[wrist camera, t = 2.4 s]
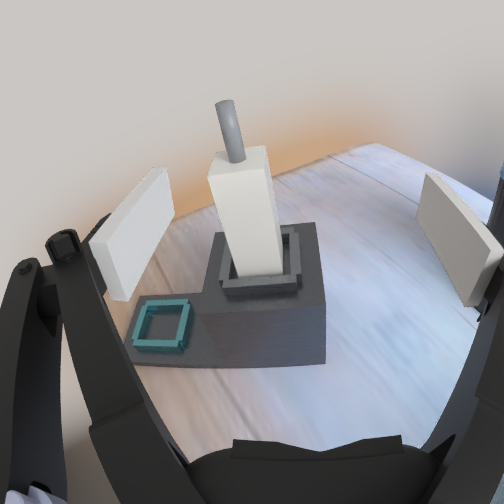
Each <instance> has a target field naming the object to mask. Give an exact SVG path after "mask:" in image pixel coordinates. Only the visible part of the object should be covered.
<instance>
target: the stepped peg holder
mask: <svg viewBox="0 0 504 504" xmlns="http://www.w3.org/2000/svg"><path fill="white" fill-rule="evenodd" d="M280 231H281V237H282V243H283V265H284V275H280V276H268V277H256V278H243V279H239V277H238V274H237V271H236V268H235V265H234V261H233V258H232V255H231V252H230V249H229V246H228V242H227V239H226V236H225V233H224V232H217V233H215V236H214V241H213V245H212V250H211V254H210V258H209V263H208V267H207V272H206V277H205V281H204V286H203V290H202V293H192V294H174V295H153V296H140V297H139V300H138V303H137V306H136V308H135V311H134V314H133V317H132V320H131V323H130V326H129V329H128V332H127V335H126V338H125V341H124V347H125V349H126V351H127V353H128V355H129V358H130V360H131V362H132V364H133V365H141V366H157V367H178V368H267V367H288V366H304V365H317V364H325V360H326V302H325V293H324V285H323V277H322V269H321V261H320V254H319V246H318V239H317V232H316V226H315V222H311V223H301V224H291V225H281V226H280Z"/></svg>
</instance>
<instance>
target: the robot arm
mask: <svg viewBox="0 0 504 504" xmlns="http://www.w3.org/2000/svg"><path fill="white" fill-rule="evenodd" d="M174 215H175V212H174V207H173V201H172V195H171V189H170V183H169V178H168V171H167V167H155V168H153V169H151V170H150V171H149V172H148V173H147V175H146V176H145V177H144V178H143V179H142V180H141V181H140V182H139V183H138V184H137V185H136V186H135V188H134V189H133V190H132V191H131V192H130V193H129V194H128V195H127V197H126V198H125V199H124V200H123V201H122V202H121V203H120V205H119V206H118V207H117V208H116V209H115V210H114V212H113V213H110V214H108V215H106V216H105V217H104V218H102V219H101V220H100V221H99V222H98V223H97V224H96V226H95V228H93V229H92V231H91V233H89V234H88V235H87V237H86V238H85V239H84V240H83V241H82V243H80V240H79V237H78V235H77V232H76V231H75V230H73V229H65V230H62V231H59V232H57V233H56V234H54V235H52V236H51V237H50V238H49V239H48V240H47V242H46V244H45V247H46V249H47V252H48V254H49V256H50V259H51V261H52V263H53V265H49V266H45V267H41V265H40V263H39V261H38V260H37V258H28V259H26V260H22V261H21V262H20V263H18V265H17V266H16V267H15V268H14V270H13V272H12V274H11V277H10V280H9V283H8V286H7V289H6V292H5V295H4V298H3V301H2V305H1V308H0V504H68V503H67V478H66V468H65V459H64V450H63V439H62V426H61V403H60V365H61V341H62V326H63V324H64V328H65V332H66V337H67V341H68V345H69V349H70V353H71V357H72V360H73V364H74V367H75V371H76V374H77V378H78V381H79V384H80V387H81V391H82V393H83V397H84V400H85V403H86V405H87V408H88V411H89V414H90V417H91V419H92V425H91V426H90V427H89V433H90V437H91V440H92V442H93V445H94V447H95V450H96V452H97V455H98V457H99V459H100V462H101V464H102V466H103V468H104V471H105V473H106V475H107V477H108V479H109V481H110V483H111V485H112V488H113V490H114V492H115V494H116V495H117V497H118V499H119V501H120V503H121V504H490V502H491V500H492V498H493V496H494V494H495V491H496V489H497V487H498V485H499V482H500V480H501V478H502V475H503V473H504V163H503V166H502V167H501V170H500V180H499V184H498V189H497V192H496V196H495V200H494V203H493V207H492V210H491V213H490V217H489V220H488V223H487V225H485V224H484V223H483V222H482V221H481V220H480V219H479V218H478V217H477V216H476V214H475V213H474V212H473V211H472V210H471V209H470V208H469V206H468V205H467V204H466V203H465V202H464V201H463V200H462V199H461V198H460V197H459V195H458V194H457V193H456V192H455V191H454V190H453V189H452V188H451V187H450V186H449V185H448V184H447V183H446V182H445V181H444V180H443V179H442V178H441V177H440V176H439V175H438V174H431V173H426V174H425V179H424V184H423V189H422V194H421V198H420V203H419V207H418V211H417V215H416V221H417V222H418V224H419V225H420V227H421V229H422V230H423V232H424V233H425V235H426V237H427V238H428V240H429V242H430V243H431V245H432V247H433V249H434V250H435V252H436V254H437V256H438V257H439V259H440V261H441V263H442V265H443V266H444V268H445V270H446V272H447V274H448V276H449V277H450V279H451V281H452V283H453V285H454V287H455V289H456V291H457V293H458V295H459V297H460V299H461V301H462V303H463V305H464V307H470V306H474V307H475V308H476V309H477V310H479V311H480V312H481V314H480V316H479V318H478V319H477V322H479V321H480V323H479V326H478V329H477V332H476V335H475V338H474V341H473V344H472V346H471V349H470V352H469V354H468V357H467V360H466V362H465V365H464V367H463V370H462V372H461V374H460V377H459V379H458V381H457V384H456V386H455V388H454V390H453V392H452V395H451V397H450V399H449V401H448V403H447V405H446V407H445V409H444V411H443V413H442V415H441V417H440V419H439V421H438V423H437V425H436V427H435V428H434V430H433V432H432V434H431V436H430V437H429V439H428V440H427V441H426V443H425V444H424V445H423V446H422V447H421V449H418V448H416V447H413V446H409V445H404V444H402V438H401V435H396V436H388V437H380V438H371V439H362V440H359V441H356V442H353V443H350V444H347V445H344V446H341V447H337V448H334V449H330V450H327V451H322V452H318V451H313V450H308V449H304V448H299V447H295V446H291V445H287V444H283V443H279V442H270V441H251V440H237V439H233V447H232V448H229V449H223V450H219V451H215V452H212V453H210V454H207V455H204V456H202V457H200V458H198V459H196V460H195V461H193V462H192V463H190V462H189V461H188V459H187V458H186V456H185V455H184V454H183V452H182V451H181V449H180V448H179V446H178V445H177V443H176V442H175V440H174V439H173V437H172V436H171V434H170V432H169V431H168V429H167V427H166V426H165V424H164V422H163V420H162V419H161V417H160V415H159V413H158V412H157V410H156V408H155V406H154V405H153V403H152V401H151V399H150V397H149V395H148V393H147V392H146V390H145V388H144V386H143V384H142V382H141V380H140V378H139V376H138V374H137V372H136V370H135V368H134V366H133V364H132V362H131V360H130V358H129V355H128V353H127V351H126V349H125V347H124V345H123V342H122V340H121V338H120V336H119V333H118V331H117V329H116V326H115V324H114V322H113V319H112V317H111V314H110V312H109V310H108V307H107V304H106V302H105V300H104V298H103V295H104V293H105V292H106V290H108V292H109V295H110V297H111V299H112V300H116V301H126V302H128V301H129V299H130V297H131V295H132V293H133V291H134V289H135V287H136V285H137V283H138V281H139V279H140V277H141V276H142V274H143V272H144V270H145V268H146V266H147V264H148V262H149V260H150V258H151V256H152V255H153V253H154V251H155V249H156V247H157V245H158V243H159V242H160V240H161V238H162V236H163V234H164V233H165V231H166V229H167V227H168V225H169V224H170V222H171V220H172V218H173V216H174Z"/></svg>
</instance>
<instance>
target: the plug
mask: <svg viewBox="0 0 504 504" xmlns="http://www.w3.org/2000/svg"><path fill="white" fill-rule="evenodd" d="M215 107H216V111H217V115H218V119H219V123H220V127H221V131H222V135H223V138H224V142H225V146H226V150H227V151H222V152H216V154H215V157H214V159H213V162H212V165H211V168H210V170H209V173H208V175H207V178H208V181H209V184H210V188H211V191H212V194H213V198H214V201H215V204H216V207H217V211H218V214H219V217H220V220H221V223H222V227H223V230H224V233H225V236H226V239H227V242H228V246H229V249H230V252H231V255H232V258H233V261H234V265H235V268H236V271H237V274H238V277H239V279H243V278H256V277H268V276H280V275H284V265H283V243H282V237H281V231H280V225H279V219H278V213H277V207H276V201H275V196H274V190H273V184H272V179H271V174H270V168H269V162H268V157H267V152H266V146H265V145H261V146H254V147H247V148H244V146H243V141H242V137H241V132H240V128H239V123H238V120H237V115H236V110H235V106H234V102H233V100H224V101H220V102H218V103H216V104H215Z"/></svg>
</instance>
